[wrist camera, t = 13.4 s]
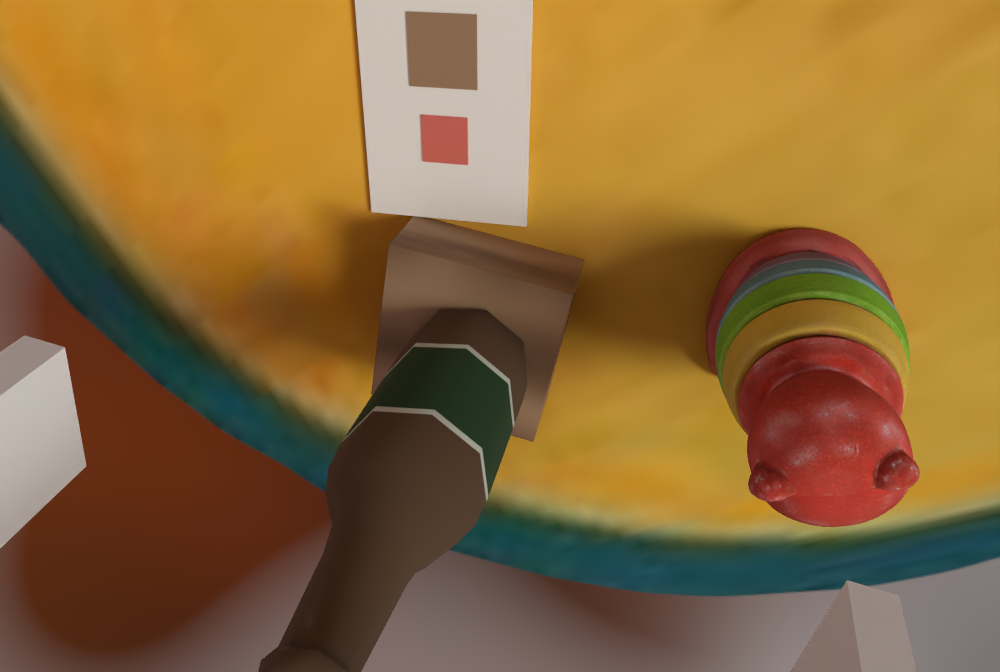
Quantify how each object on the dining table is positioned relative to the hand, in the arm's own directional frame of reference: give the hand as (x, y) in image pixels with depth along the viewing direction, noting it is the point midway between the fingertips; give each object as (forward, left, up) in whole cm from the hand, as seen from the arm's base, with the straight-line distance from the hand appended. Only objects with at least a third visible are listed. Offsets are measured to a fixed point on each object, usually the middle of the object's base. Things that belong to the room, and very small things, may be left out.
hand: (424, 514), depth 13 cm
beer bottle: (+17, -4, -30) cm, 35 cm away
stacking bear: (+10, +13, -35) cm, 39 cm away
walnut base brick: (+17, -5, -35) cm, 39 cm away
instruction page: (+3, -10, -35) cm, 36 cm away
